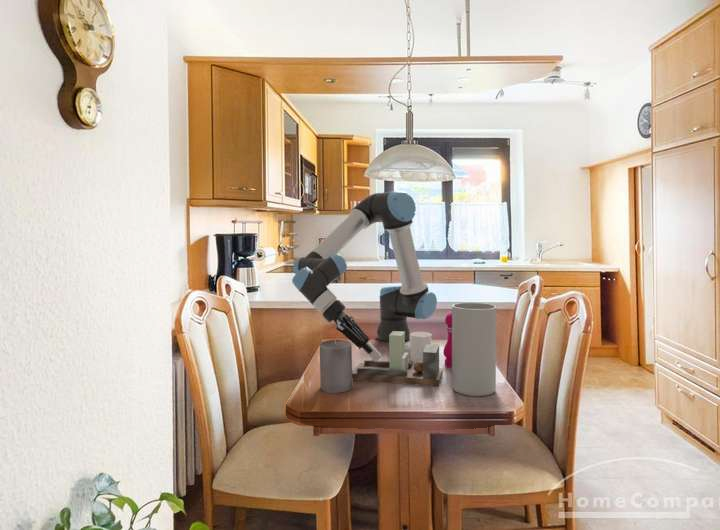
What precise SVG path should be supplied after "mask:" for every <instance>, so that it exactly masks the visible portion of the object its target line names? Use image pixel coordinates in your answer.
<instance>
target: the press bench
mask: <svg viewBox="0 0 720 530" xmlns="http://www.w3.org/2000/svg"><path fill="white" fill-rule="evenodd" d="M363 361H364V362H360V363H358V365H357V366H356V367H355V368H354V369H352V379H354V380H353V381H362V380H366V381H365V382H375V381H381V382H380V383H389V382H395V383H394V384H402V383H406V384H405V385H415V384H419V385H418V386H429V385H433V386H432V387H440V385H439V384H440V383H441V381H442V377H443V375H442V374H443V372H444V370H443V367H441V368H440V345H439V344H432V343H431V344H427V345H426V347H425V349H424V351H423V362H421V361H417V362H415V363H414V364H413V362H408V369H407V371H403V370H389V360H378V361H376V362H375V361H374V360H373V359H364V360H363ZM412 365H413V366H412ZM367 380H368V381H367Z"/></svg>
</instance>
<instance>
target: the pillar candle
mask: <svg viewBox="0 0 720 530" xmlns="http://www.w3.org/2000/svg"><path fill="white" fill-rule="evenodd" d="M352 347H353V346H352V341H350V340H347V339H346V340H345V339H336V338H335V339H330V340H329V339H328V340H324V341H322V342H320V343H319V367H320V368H319V370H320V371H319V374H320V375H319V376H320V378H319V379H320V390H321V391H322V392H324V393H328V394H339V393H340V394H341V393H344V392H345V393H346V391H347V392H349V391H351V390H352V389H353V380H352V371H353V355H352V353H353V352H352V350H353V349H352ZM350 389H351V390H350Z"/></svg>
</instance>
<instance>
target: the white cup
mask: <svg viewBox="0 0 720 530" xmlns="http://www.w3.org/2000/svg"><path fill="white" fill-rule="evenodd" d="M432 335H433V334H432V333H431V332H427V331H413V332H411V333H410V339H409V349H410V361H411V363H413V362H414V364H415V362H417V361H421V362H423V351H424V349H425V347H426V345H427V344H432Z"/></svg>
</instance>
